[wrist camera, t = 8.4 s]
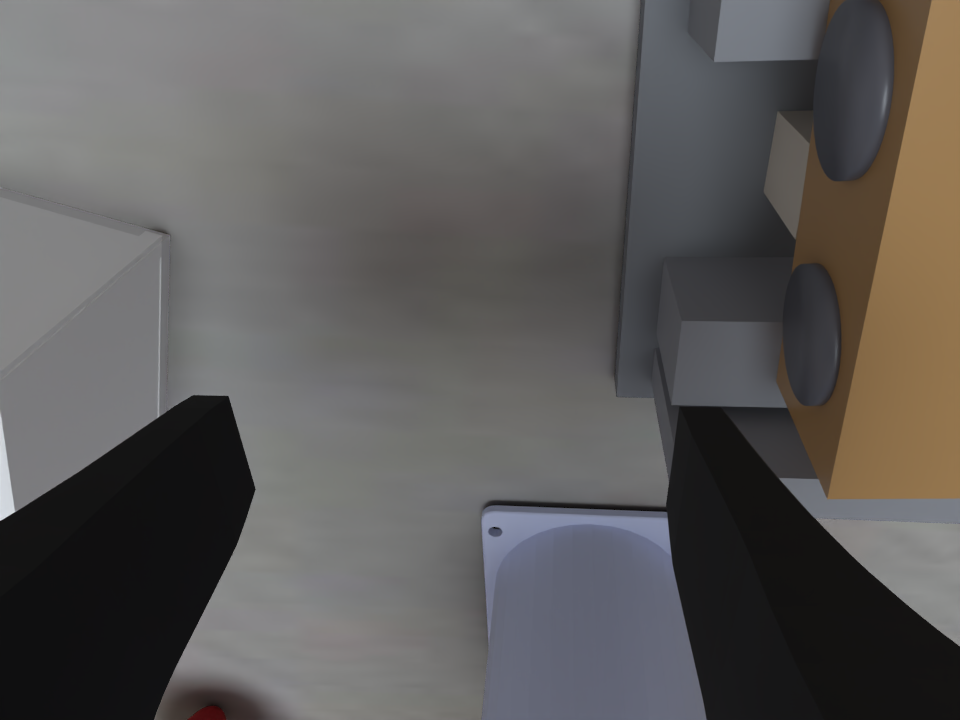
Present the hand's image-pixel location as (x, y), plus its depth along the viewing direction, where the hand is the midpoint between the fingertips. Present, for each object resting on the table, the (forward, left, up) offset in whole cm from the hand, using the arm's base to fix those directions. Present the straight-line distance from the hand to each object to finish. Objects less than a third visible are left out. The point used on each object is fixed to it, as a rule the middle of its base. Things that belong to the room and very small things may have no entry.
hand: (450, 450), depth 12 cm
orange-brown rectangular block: (+2, -8, -6) cm, 10 cm away
